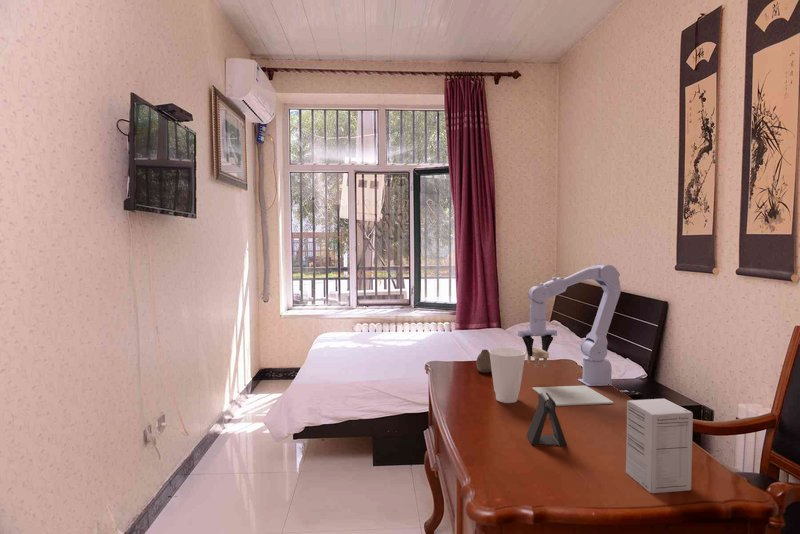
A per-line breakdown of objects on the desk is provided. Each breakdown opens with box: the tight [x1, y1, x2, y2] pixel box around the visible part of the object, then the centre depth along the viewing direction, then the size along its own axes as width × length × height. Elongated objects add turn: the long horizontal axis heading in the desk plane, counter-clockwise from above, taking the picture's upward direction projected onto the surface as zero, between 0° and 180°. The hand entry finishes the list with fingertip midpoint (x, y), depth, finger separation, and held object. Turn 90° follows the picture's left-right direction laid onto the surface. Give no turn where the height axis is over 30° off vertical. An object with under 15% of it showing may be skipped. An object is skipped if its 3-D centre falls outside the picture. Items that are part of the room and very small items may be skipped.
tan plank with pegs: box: [525, 347, 550, 369], centre depth 175 cm, size 5×8×6 cm, turn 9°
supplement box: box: [625, 398, 694, 494], centre depth 103 cm, size 10×9×17 cm
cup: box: [488, 347, 527, 404], centre depth 156 cm, size 12×12×16 cm
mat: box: [531, 384, 615, 407], centre depth 161 cm, size 20×18×1 cm
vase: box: [475, 349, 492, 374], centre depth 191 cm, size 7×7×9 cm
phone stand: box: [526, 392, 568, 447], centre depth 124 cm, size 9×6×12 cm, turn 86°
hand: (537, 355), depth 175 cm, fingers closed on tan plank with pegs, 5 cm apart
